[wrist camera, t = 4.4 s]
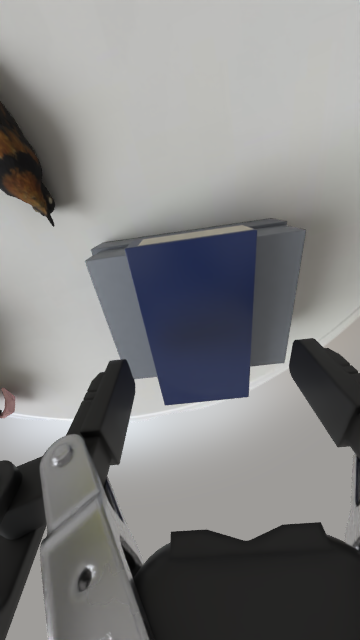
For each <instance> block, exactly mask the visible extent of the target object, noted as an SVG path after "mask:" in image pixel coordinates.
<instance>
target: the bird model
mask: <svg viewBox="0 0 360 640" xmlns="http://www.w3.org/2000/svg"><path fill="white" fill-rule="evenodd" d="M0 189H1V190H2V191H3V192H5V193H6V194H7V195H9V196H13V197H16V198H18V199H21V200H22V201H24V202H26V203H28V204H30V205H32V206H33V209H34V210H35V211H36V212H39V213H41V215H43V216H46V217H47V218H48V220H49V221H50V223H51V224H52V226H53V227H54V222H53V219H52V218H51V216H50V213H52V212H53V211H54V208H55V202H54V199H53V198H52V196H51V194H50V193H49V191H48V190H47V188H46V187H45V186H44V184H43V182H42V169H41V166H40V162H39V160H38V158H37V156H36V154H35V152H34V150H33V149H32V147H31V146H30V144H29V143H28V141H27V140H26V138H25V137H24V136H23V134H22V132H21V130H20V129H19V127H18V125H17V123H16V122H15V120H14V119H13V117H12V116H11V115H10V113H9V112H8V111H7V109H6V108H5V107H4V105H3V104H2V103H1V102H0Z"/></svg>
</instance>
